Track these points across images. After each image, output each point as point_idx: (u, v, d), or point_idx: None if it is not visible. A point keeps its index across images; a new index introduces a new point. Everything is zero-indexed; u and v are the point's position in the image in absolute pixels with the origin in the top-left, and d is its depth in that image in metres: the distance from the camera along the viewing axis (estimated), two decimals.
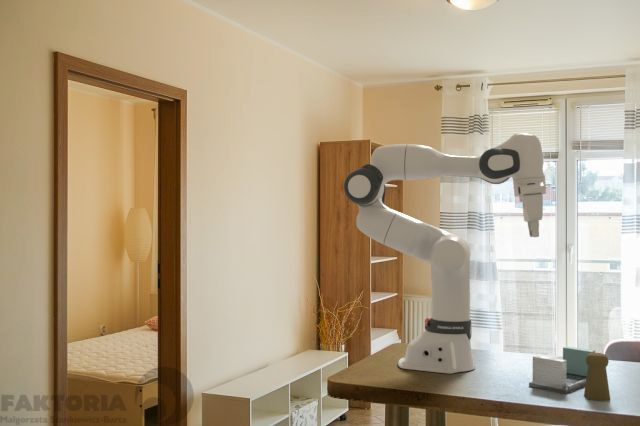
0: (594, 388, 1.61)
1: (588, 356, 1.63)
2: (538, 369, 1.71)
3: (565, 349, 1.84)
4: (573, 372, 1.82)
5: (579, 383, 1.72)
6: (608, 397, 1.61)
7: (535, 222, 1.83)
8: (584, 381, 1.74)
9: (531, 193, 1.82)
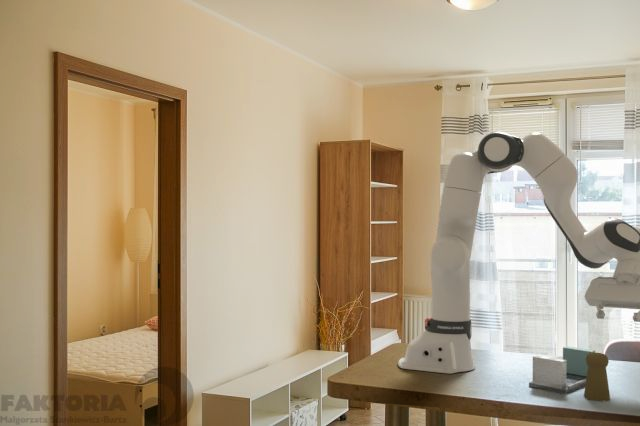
0: (594, 388, 1.61)
1: (588, 356, 1.63)
2: (538, 369, 1.71)
3: (565, 349, 1.84)
4: (573, 372, 1.82)
5: (579, 383, 1.72)
6: (608, 397, 1.61)
7: None
8: (584, 381, 1.74)
9: None
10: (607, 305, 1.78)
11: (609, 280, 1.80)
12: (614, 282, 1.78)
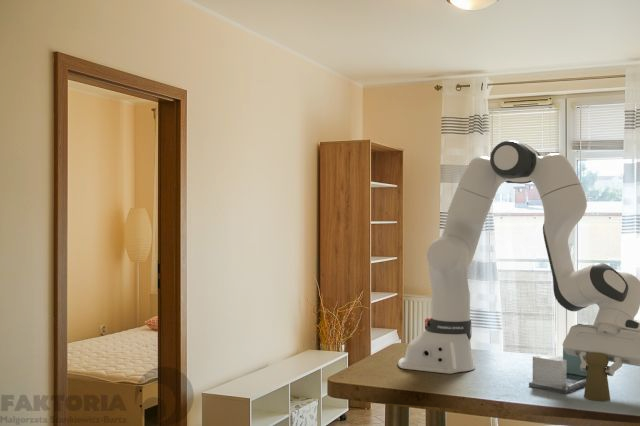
0: (594, 388, 1.61)
1: (588, 356, 1.63)
2: (538, 369, 1.71)
3: None
4: (573, 372, 1.82)
5: (579, 383, 1.72)
6: (608, 397, 1.61)
7: (621, 362, 1.61)
8: (584, 381, 1.74)
9: None
10: None
11: (589, 329, 1.70)
12: (594, 331, 1.69)
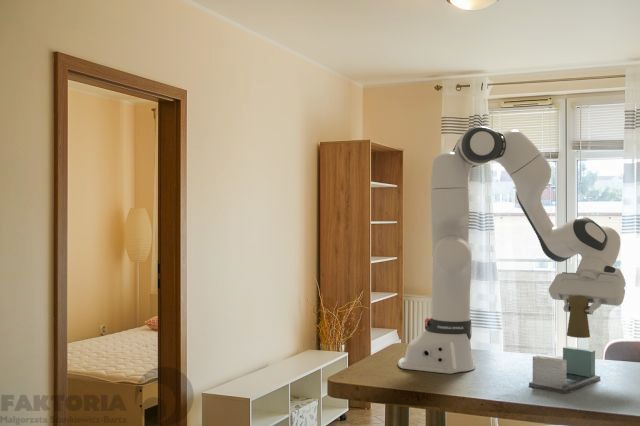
0: (575, 326, 1.81)
1: (571, 299, 1.82)
2: (538, 369, 1.71)
3: (565, 349, 1.84)
4: (573, 372, 1.82)
5: (579, 383, 1.72)
6: (588, 334, 1.81)
7: (599, 302, 1.81)
8: (584, 381, 1.74)
9: (620, 280, 1.82)
10: None
11: (572, 275, 1.90)
12: (576, 277, 1.89)
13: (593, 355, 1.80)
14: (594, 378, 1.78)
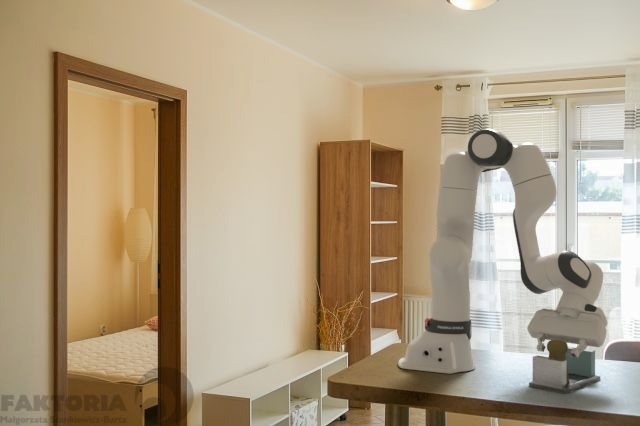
0: None
1: (549, 343, 1.73)
2: (538, 369, 1.71)
3: None
4: (573, 372, 1.82)
5: (579, 383, 1.72)
6: (567, 381, 1.72)
7: (586, 344, 1.71)
8: (584, 381, 1.74)
9: (602, 319, 1.73)
10: (548, 338, 1.80)
11: (552, 313, 1.81)
12: (556, 315, 1.80)
13: (593, 355, 1.80)
14: (594, 378, 1.78)
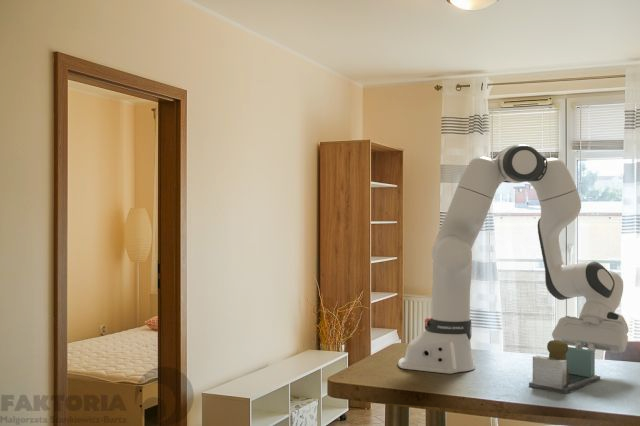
0: None
1: (549, 343, 1.73)
2: (538, 369, 1.71)
3: None
4: (573, 372, 1.82)
5: (579, 383, 1.72)
6: (567, 381, 1.72)
7: (594, 348, 1.84)
8: (584, 381, 1.74)
9: (623, 327, 1.84)
10: (586, 346, 1.87)
11: (575, 320, 1.92)
12: (580, 323, 1.91)
13: (593, 355, 1.80)
14: (594, 378, 1.78)
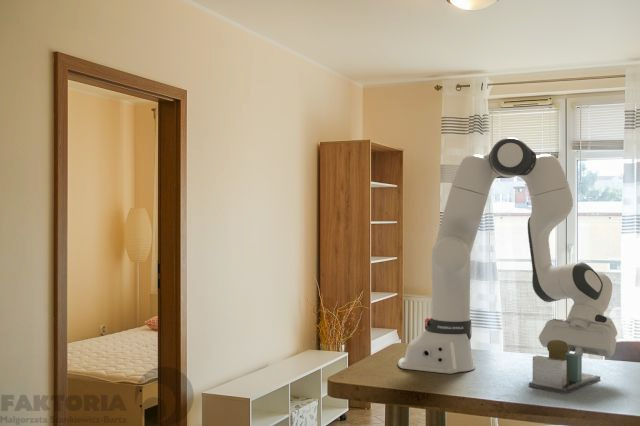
0: None
1: (549, 343, 1.73)
2: (538, 369, 1.71)
3: None
4: None
5: (579, 383, 1.72)
6: (567, 381, 1.72)
7: (581, 351, 1.78)
8: (584, 381, 1.74)
9: (612, 330, 1.78)
10: (573, 350, 1.81)
11: (563, 323, 1.86)
12: (567, 325, 1.85)
13: (579, 360, 1.74)
14: (594, 378, 1.78)
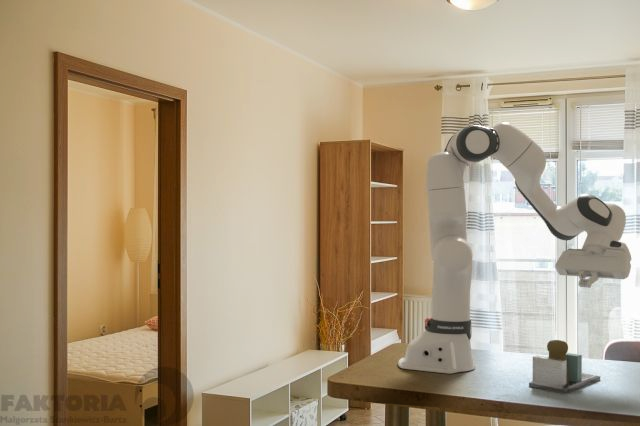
0: None
1: (549, 343, 1.73)
2: (538, 369, 1.71)
3: None
4: None
5: (579, 383, 1.72)
6: (567, 381, 1.72)
7: (597, 276, 1.85)
8: (584, 381, 1.74)
9: (626, 254, 1.85)
10: (589, 275, 1.88)
11: (578, 251, 1.93)
12: (583, 253, 1.92)
13: (579, 360, 1.74)
14: (594, 378, 1.78)
